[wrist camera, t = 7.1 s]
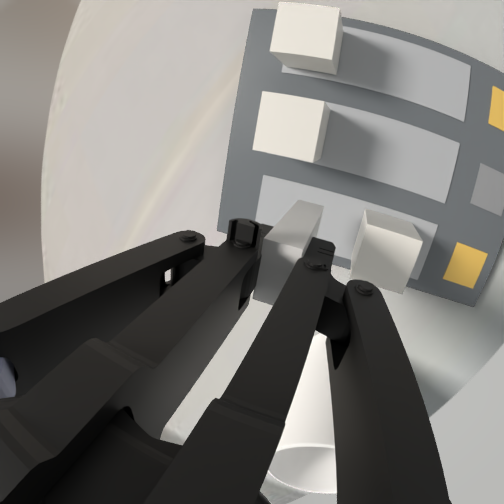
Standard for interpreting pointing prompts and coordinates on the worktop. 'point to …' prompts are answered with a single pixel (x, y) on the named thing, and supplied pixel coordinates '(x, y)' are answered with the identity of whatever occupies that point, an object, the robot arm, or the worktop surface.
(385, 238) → the off-white cube
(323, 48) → the white cube
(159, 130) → the worktop surface
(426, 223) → the switch bank
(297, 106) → the cream cube block
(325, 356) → the mug
